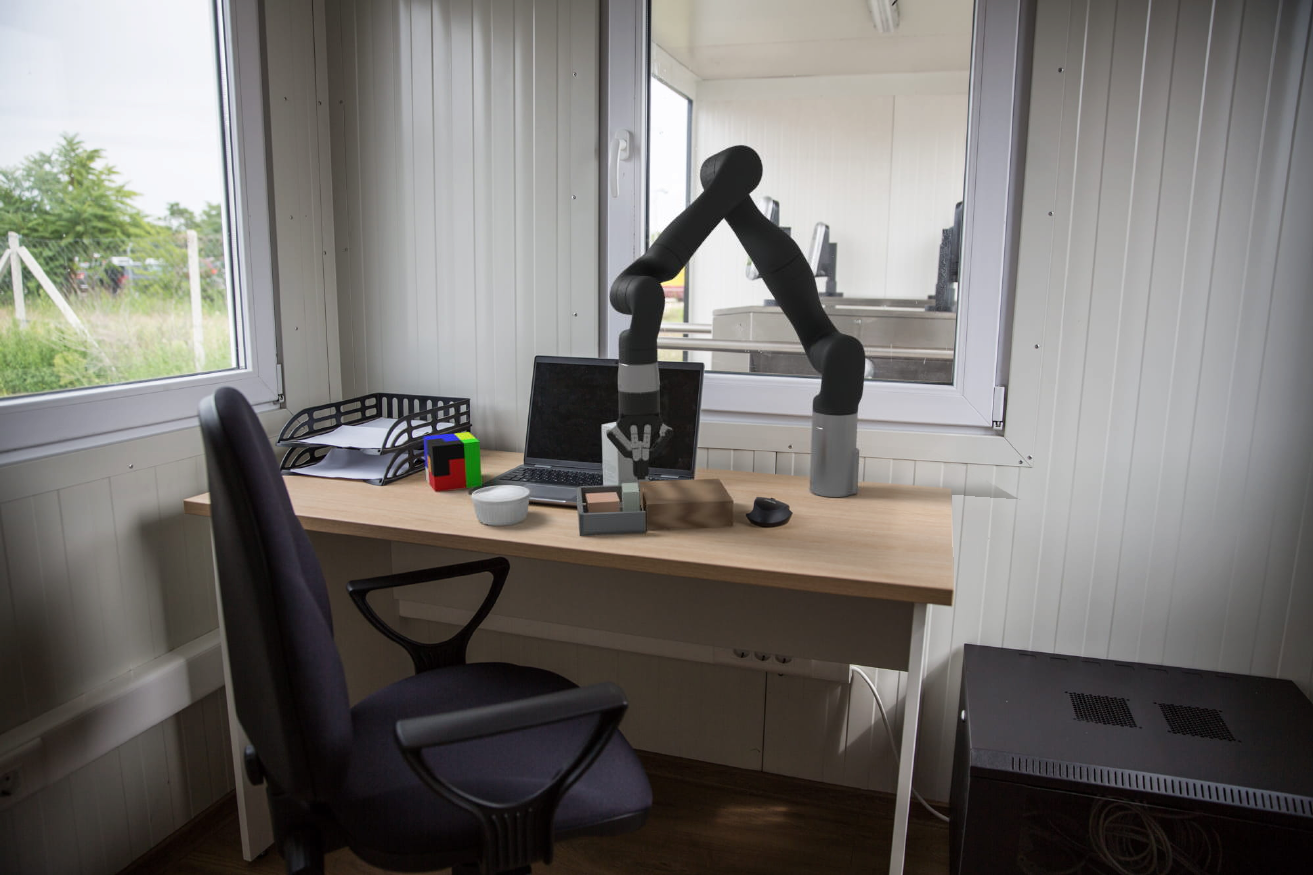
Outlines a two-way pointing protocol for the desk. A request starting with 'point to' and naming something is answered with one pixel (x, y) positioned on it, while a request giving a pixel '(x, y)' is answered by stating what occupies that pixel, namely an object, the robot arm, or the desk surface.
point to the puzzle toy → (452, 461)
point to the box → (607, 515)
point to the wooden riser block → (686, 504)
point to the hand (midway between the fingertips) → (640, 478)
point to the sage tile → (630, 497)
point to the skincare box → (617, 460)
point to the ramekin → (501, 504)
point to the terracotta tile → (602, 502)
